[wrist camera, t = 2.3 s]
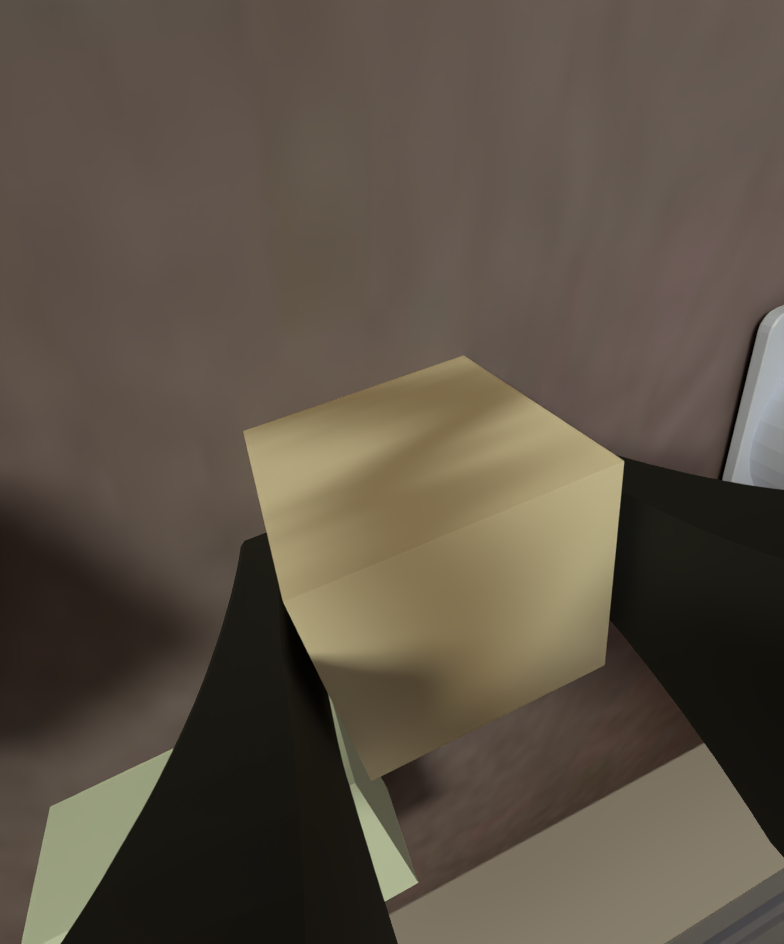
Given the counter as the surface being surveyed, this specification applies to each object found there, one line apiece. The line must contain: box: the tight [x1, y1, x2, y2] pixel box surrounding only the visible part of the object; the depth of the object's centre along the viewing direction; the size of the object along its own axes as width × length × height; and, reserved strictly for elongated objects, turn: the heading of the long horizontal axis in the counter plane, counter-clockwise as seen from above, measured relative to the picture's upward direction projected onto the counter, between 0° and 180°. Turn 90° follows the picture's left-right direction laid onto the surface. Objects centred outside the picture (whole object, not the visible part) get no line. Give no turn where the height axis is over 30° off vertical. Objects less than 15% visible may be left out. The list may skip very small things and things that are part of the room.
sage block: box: [21, 694, 418, 944], centre depth 15 cm, size 8×8×4 cm
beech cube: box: [243, 356, 624, 781], centre depth 10 cm, size 5×5×5 cm
